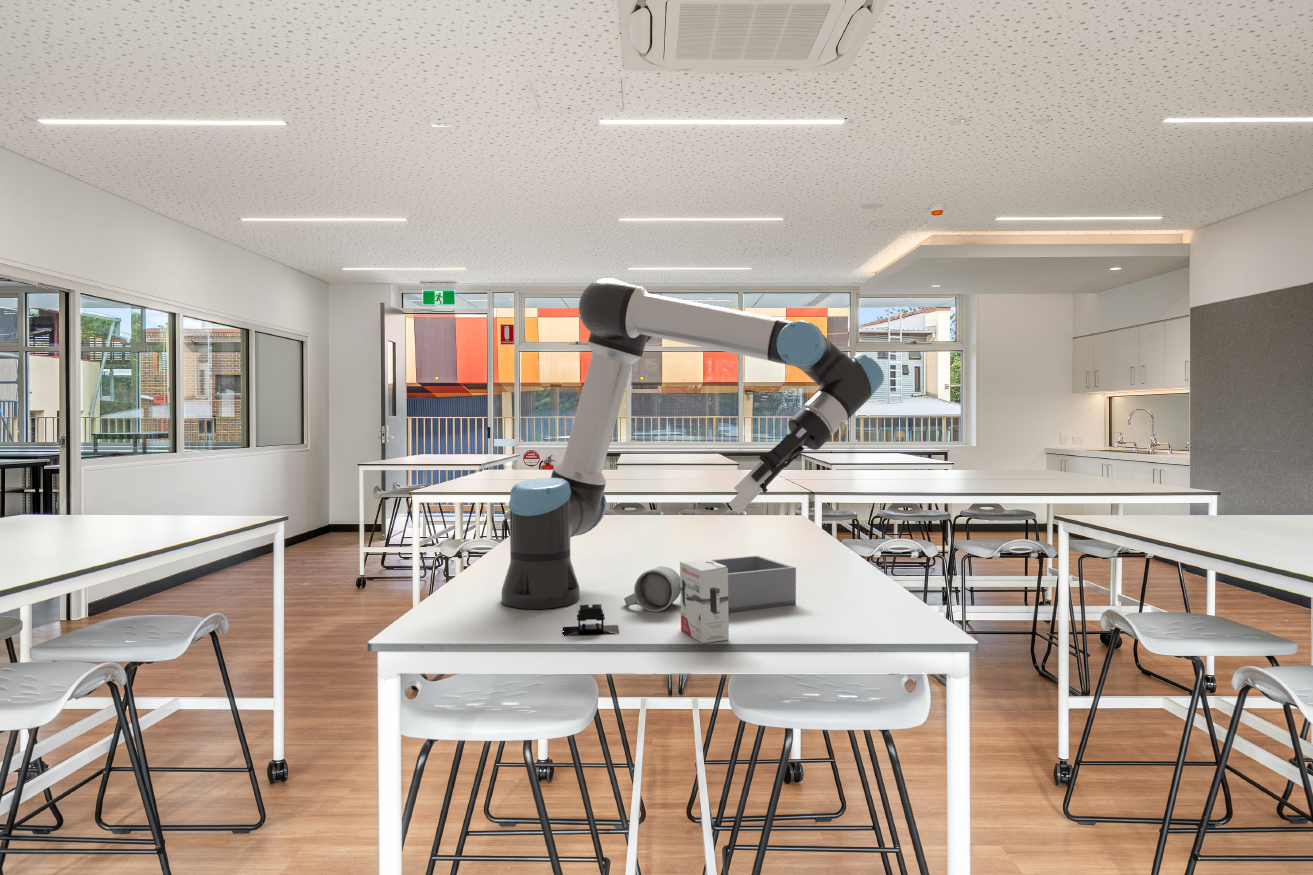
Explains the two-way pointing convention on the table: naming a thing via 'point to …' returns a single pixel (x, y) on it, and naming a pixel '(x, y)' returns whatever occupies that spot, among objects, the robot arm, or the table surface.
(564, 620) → the table surface
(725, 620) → the ink box
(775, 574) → the bin
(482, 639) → the table surface
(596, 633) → the black angular piece
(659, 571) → the ceramic mug
